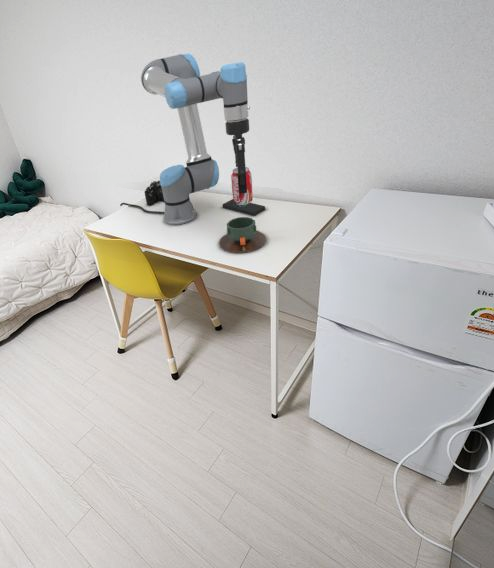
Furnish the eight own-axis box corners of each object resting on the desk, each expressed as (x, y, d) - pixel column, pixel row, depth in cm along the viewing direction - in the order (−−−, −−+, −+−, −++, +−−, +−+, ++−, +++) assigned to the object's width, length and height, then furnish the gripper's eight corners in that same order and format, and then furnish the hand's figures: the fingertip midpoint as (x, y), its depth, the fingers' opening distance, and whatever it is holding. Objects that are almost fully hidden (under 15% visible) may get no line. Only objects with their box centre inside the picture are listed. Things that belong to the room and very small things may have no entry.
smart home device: (233, 198, 170) (265, 205, 156) (233, 201, 171) (266, 209, 157) (221, 204, 166) (253, 212, 152) (221, 207, 167) (253, 216, 153)
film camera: (167, 205, 182) (163, 187, 176) (145, 207, 185) (141, 189, 179) (175, 193, 196) (172, 175, 190) (155, 194, 199) (151, 177, 194)
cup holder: (227, 230, 139) (226, 219, 136) (255, 226, 137) (254, 215, 135) (228, 246, 128) (226, 234, 125) (258, 243, 126) (257, 231, 123)
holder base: (263, 228, 142) (262, 222, 140) (269, 250, 127) (268, 243, 126) (218, 234, 144) (218, 227, 143) (219, 256, 130) (219, 249, 128)
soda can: (252, 205, 123) (250, 171, 117) (232, 207, 125) (229, 173, 118) (253, 197, 129) (251, 165, 122) (234, 199, 131) (231, 167, 124)
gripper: (251, 123, 103) (256, 197, 115) (245, 112, 119) (250, 178, 132) (226, 127, 104) (233, 200, 116) (223, 116, 120) (230, 181, 133)
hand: (242, 189), depth 124 cm, fingers closed on soda can, 7 cm apart
